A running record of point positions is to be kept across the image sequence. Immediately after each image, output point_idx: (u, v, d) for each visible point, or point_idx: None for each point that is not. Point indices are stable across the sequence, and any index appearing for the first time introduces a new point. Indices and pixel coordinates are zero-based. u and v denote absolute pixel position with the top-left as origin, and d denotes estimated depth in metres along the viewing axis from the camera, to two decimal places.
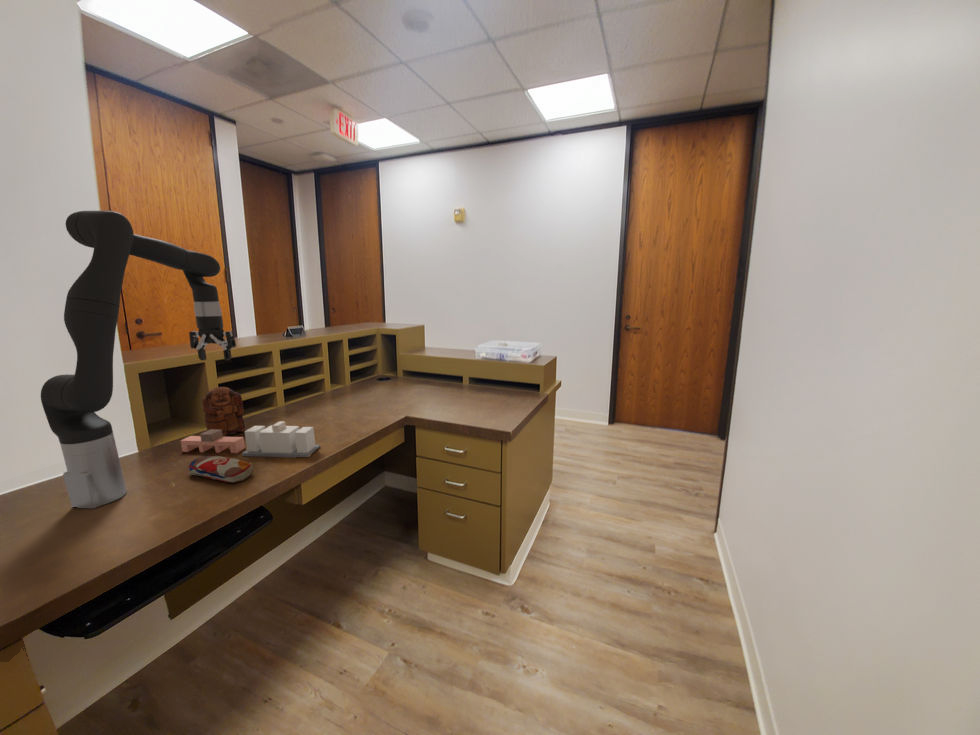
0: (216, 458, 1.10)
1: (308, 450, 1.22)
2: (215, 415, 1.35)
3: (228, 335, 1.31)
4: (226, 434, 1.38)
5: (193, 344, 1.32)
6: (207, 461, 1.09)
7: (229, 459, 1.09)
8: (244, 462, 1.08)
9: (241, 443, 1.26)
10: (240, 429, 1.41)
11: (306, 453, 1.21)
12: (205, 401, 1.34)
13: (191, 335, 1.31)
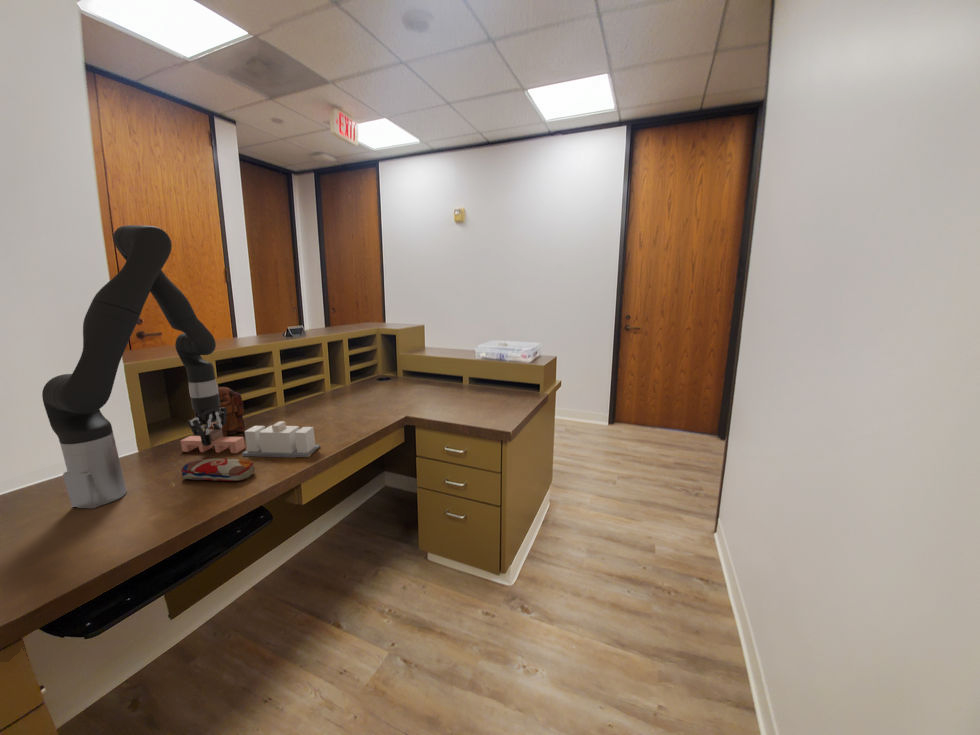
0: (211, 460, 1.09)
1: (308, 450, 1.22)
2: None
3: (225, 411, 1.30)
4: (226, 434, 1.38)
5: (202, 430, 1.20)
6: (203, 464, 1.07)
7: (227, 459, 1.09)
8: (245, 461, 1.09)
9: (241, 443, 1.26)
10: (240, 429, 1.41)
11: (306, 453, 1.21)
12: None
13: (197, 423, 1.18)
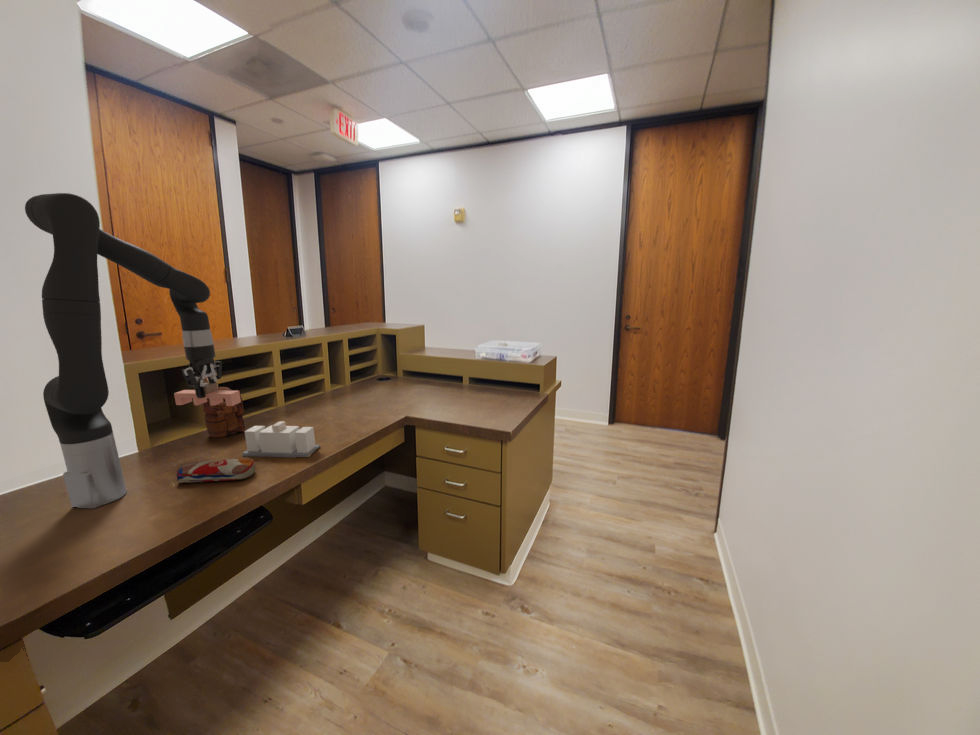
0: (208, 462, 1.08)
1: (308, 450, 1.22)
2: (215, 415, 1.35)
3: (221, 365, 1.26)
4: (226, 434, 1.38)
5: (196, 381, 1.16)
6: (200, 466, 1.06)
7: (226, 460, 1.09)
8: (245, 460, 1.10)
9: (237, 396, 1.22)
10: (240, 429, 1.41)
11: (306, 453, 1.21)
12: None
13: (191, 373, 1.15)
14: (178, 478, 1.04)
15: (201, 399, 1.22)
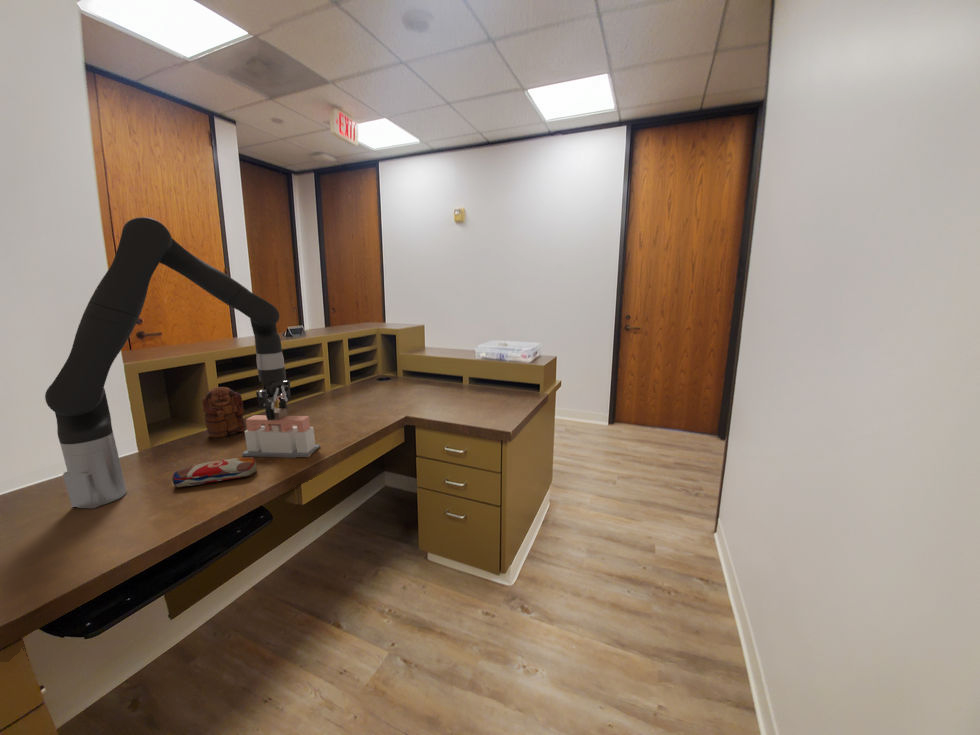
0: (205, 464, 1.06)
1: (308, 450, 1.22)
2: (215, 415, 1.35)
3: (289, 384, 1.26)
4: (226, 434, 1.38)
5: (268, 404, 1.16)
6: (198, 468, 1.04)
7: (224, 460, 1.08)
8: (245, 458, 1.11)
9: (307, 422, 1.23)
10: (240, 429, 1.41)
11: (306, 453, 1.21)
12: (205, 401, 1.34)
13: (265, 395, 1.14)
14: (176, 483, 1.01)
15: (271, 425, 1.23)
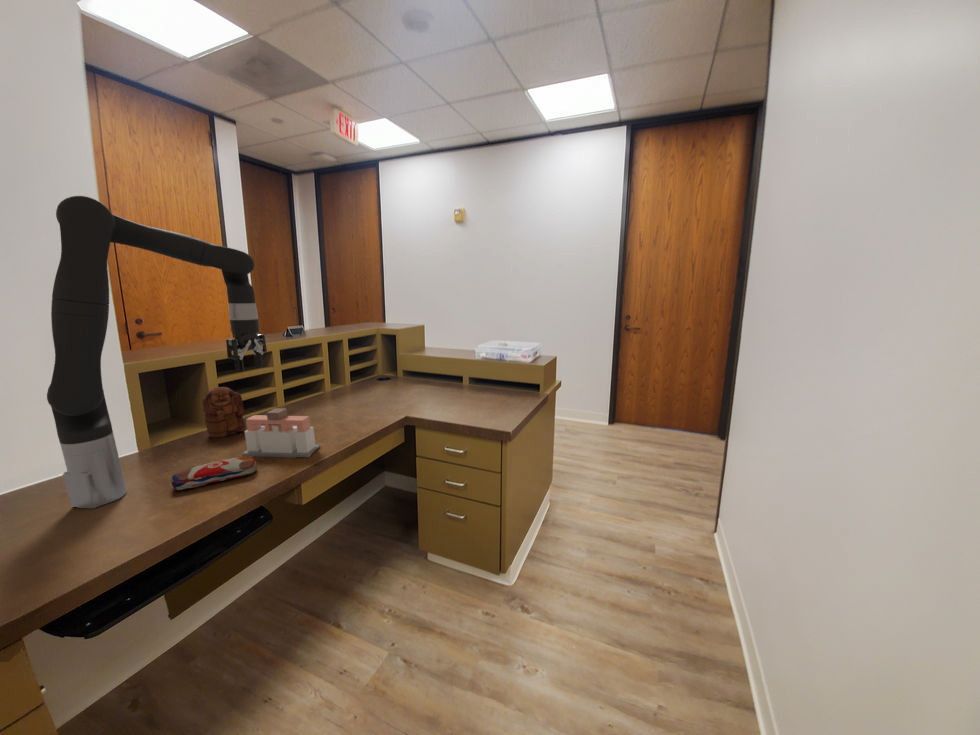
0: (203, 465, 1.06)
1: (308, 450, 1.22)
2: (215, 415, 1.35)
3: (264, 338, 1.24)
4: (226, 434, 1.38)
5: (237, 354, 1.12)
6: (198, 470, 1.03)
7: (223, 460, 1.08)
8: (243, 457, 1.12)
9: (307, 422, 1.23)
10: (240, 429, 1.41)
11: (306, 453, 1.21)
12: (205, 401, 1.34)
13: (235, 343, 1.11)
14: (176, 486, 1.00)
15: (271, 425, 1.23)
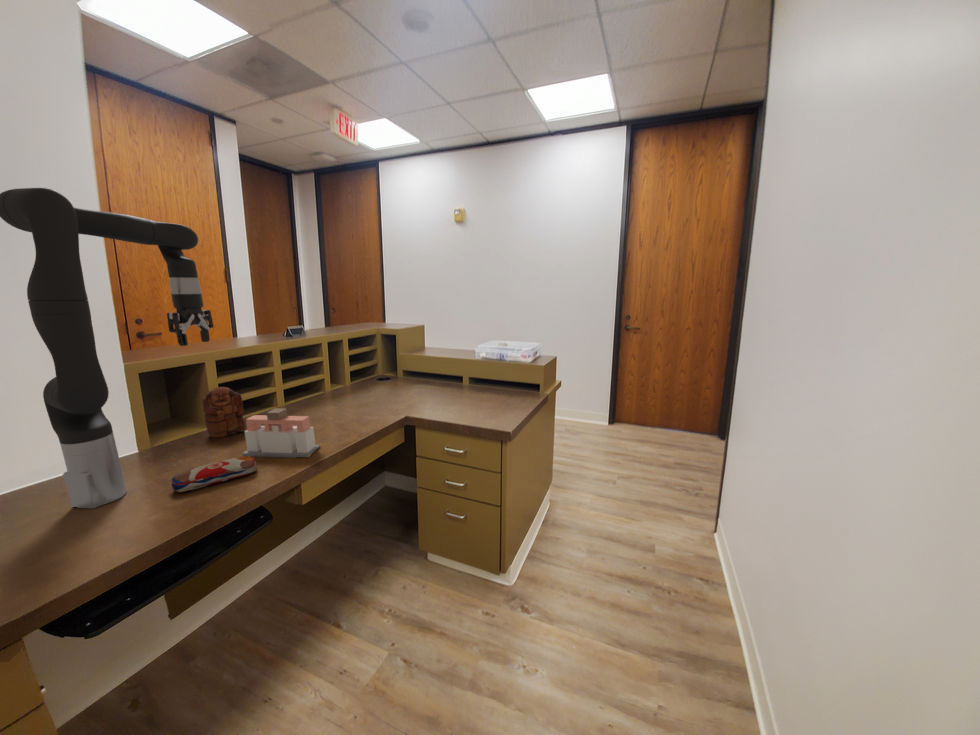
0: (203, 467, 1.05)
1: (308, 450, 1.22)
2: (215, 415, 1.35)
3: (210, 313, 1.25)
4: (226, 434, 1.38)
5: (178, 327, 1.13)
6: (198, 471, 1.03)
7: (222, 461, 1.08)
8: (242, 457, 1.12)
9: (307, 422, 1.23)
10: (240, 429, 1.41)
11: (306, 453, 1.21)
12: (205, 401, 1.34)
13: (176, 317, 1.13)
14: (178, 488, 0.99)
15: (271, 425, 1.23)
